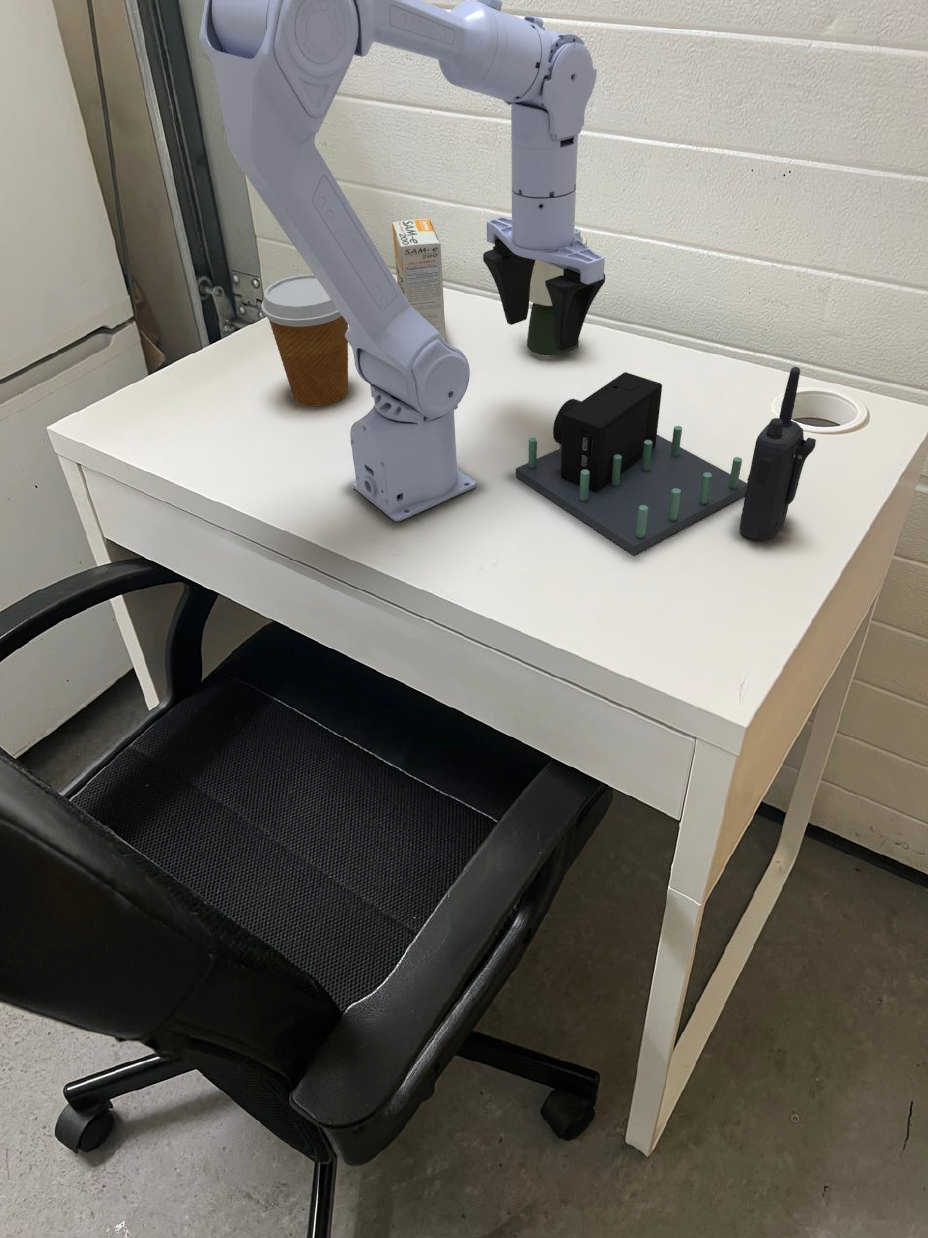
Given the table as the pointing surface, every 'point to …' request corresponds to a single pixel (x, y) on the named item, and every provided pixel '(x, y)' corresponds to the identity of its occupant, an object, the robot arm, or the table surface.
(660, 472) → the rack
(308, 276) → the disposable coffee cup
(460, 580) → the table surface
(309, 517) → the table surface
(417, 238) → the supplement box
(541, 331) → the character mug
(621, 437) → the digital camera
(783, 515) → the two-way radio
